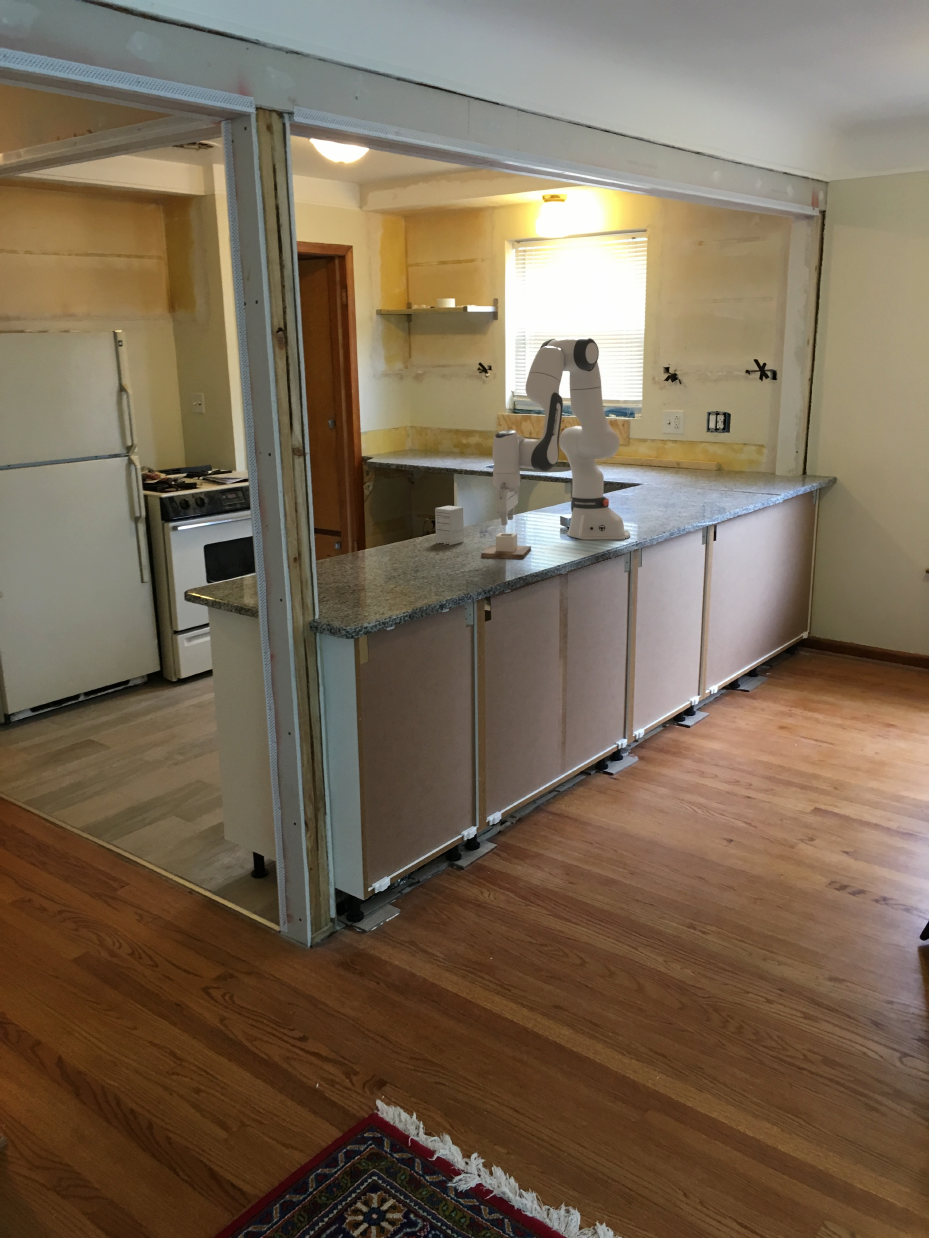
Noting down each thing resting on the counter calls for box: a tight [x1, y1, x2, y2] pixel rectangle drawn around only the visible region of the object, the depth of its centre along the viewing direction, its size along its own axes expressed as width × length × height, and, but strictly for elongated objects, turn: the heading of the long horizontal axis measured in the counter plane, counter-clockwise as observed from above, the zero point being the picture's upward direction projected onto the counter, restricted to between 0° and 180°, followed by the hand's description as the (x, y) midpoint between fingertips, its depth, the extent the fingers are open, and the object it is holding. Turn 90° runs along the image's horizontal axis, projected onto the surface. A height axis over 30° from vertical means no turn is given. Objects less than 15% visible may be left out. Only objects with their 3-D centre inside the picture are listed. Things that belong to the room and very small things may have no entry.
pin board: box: [480, 544, 532, 560], centre depth 332 cm, size 14×14×6 cm
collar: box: [495, 532, 518, 552], centre depth 332 cm, size 6×6×5 cm
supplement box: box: [434, 505, 465, 546], centre depth 352 cm, size 7×7×13 cm
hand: (507, 522), depth 330 cm, fingers open, 8 cm apart
